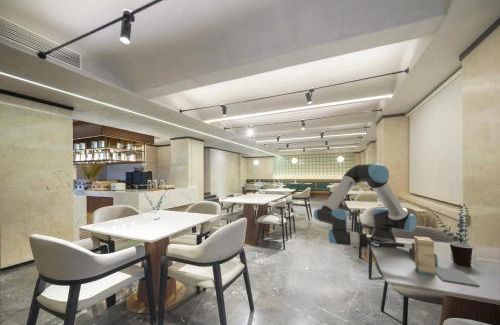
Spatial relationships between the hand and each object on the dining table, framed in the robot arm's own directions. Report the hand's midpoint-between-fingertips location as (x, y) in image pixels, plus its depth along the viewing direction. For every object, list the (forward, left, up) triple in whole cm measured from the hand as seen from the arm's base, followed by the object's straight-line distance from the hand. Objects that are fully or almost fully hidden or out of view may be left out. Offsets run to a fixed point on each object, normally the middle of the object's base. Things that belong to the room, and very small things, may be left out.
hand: (411, 245), depth 105 cm
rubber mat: (0, +15, -12) cm, 19 cm away
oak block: (0, +5, -12) cm, 13 cm away
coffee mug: (-20, +27, -12) cm, 36 cm away
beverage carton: (-20, +9, -13) cm, 25 cm away
